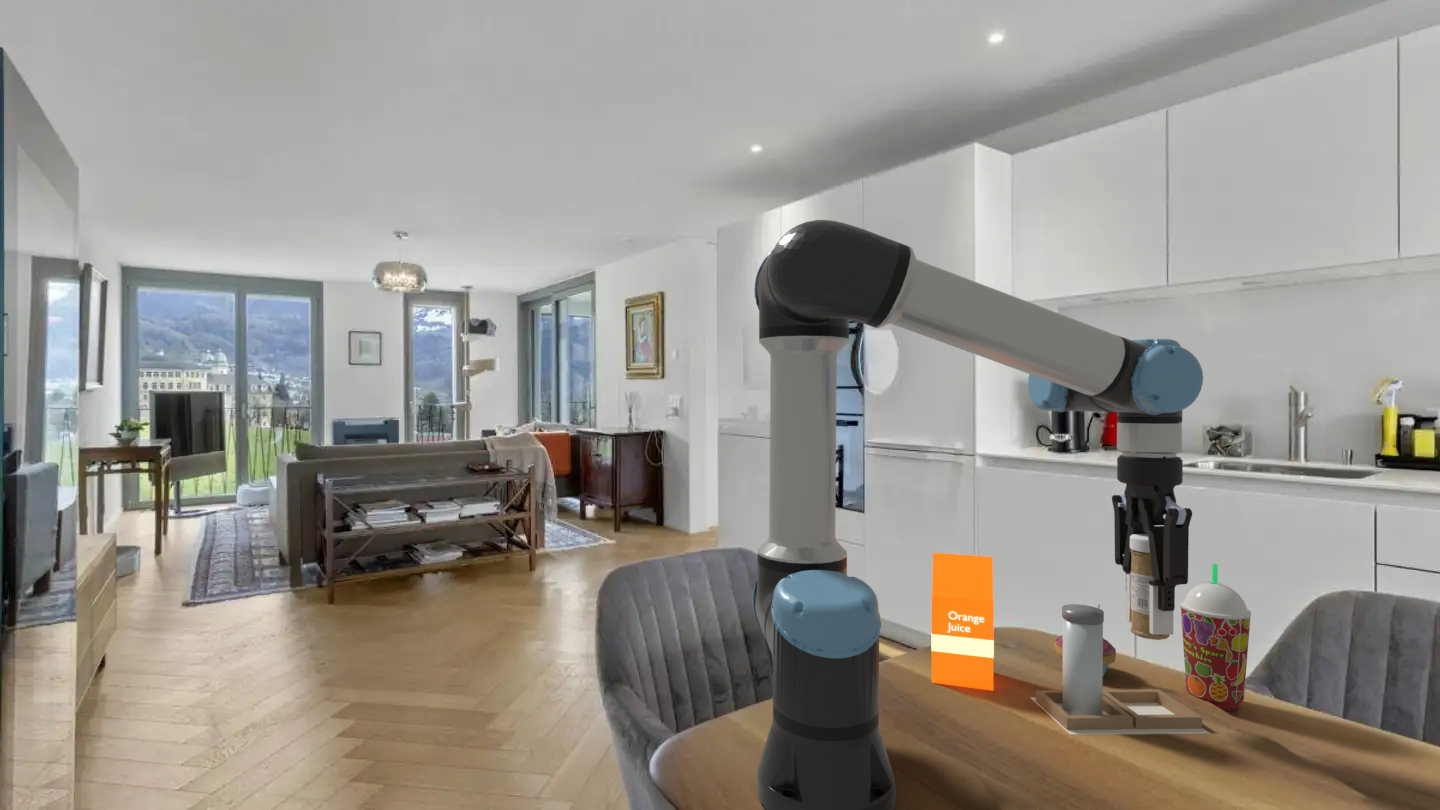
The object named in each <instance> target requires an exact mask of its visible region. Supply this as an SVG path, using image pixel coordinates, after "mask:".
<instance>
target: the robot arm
mask: <svg viewBox="0 0 1440 810" xmlns="http://www.w3.org/2000/svg"><path fill="white" fill-rule="evenodd" d="M913 249H914V248H912V247H911V246H910V245H906V244H904V243H901V242H898V241H896V240H893V239H891V238H888V237H885V236H882V235H880V234H878V233H874V232H872V231H868V230H866V229H864V228H861V227H858V226H855V225H851V224H848V223H845V222H841V221H837V220H830V219H829V220H828V219H816V220H808V221H805V222H803V223H800V224H798V225H796V226H794V227H792V228H790V229H789V230H787V232H785V233H784V234H783V236H781V237H780V238H779V240H778V241H777V243H776V244H775V246H774V248H773V249H772V250H771V251H770V252H769V253H768V254H767V256H765V258H764V259H763V261H762V263H761V264H760V266H759V269H758V270H757V272H756V276H755V281H754V298H755V304H756V306H757V309H758V343H759V344H760V345H761V346H762V347H763V348H764V349H765V350H766V351H767V352H768V354H769V356H770V366H769V367H770V370H769V371H770V372H769V373H770V377H769V378H770V379H769V383H770V384H769V385H770V389H769V390H770V391H769V394H770V395H769V397H770V398H769V400H770V401H769V404H770V405H769V510H768V511H769V518H768V520H769V527H768V528H769V530H768V531H769V532H768V533H769V535H768V538H767V539H766V540H765V541H764V542H763V543H762V544H761V545H760V546H759V547H758V548H757V576H756V580H755V583H754V584H753V589H752V594H751V595H752V597H751V598H752V599H751V601H752V609H753V615H754V617H755V620H756V623H757V624H758V627H759V628H760V630H761V632H762V634H763V636H764V639H765V641H766V643H767V646H768V649H769V651H770V653H771V656H772V657H771V658H772V723H771V725H770V729H769V732H768V735H767V738H766V741H765V745H764V746H763V750H762V753H761V756H760V760H759V762H758V766H757V775H756V780H757V781H756V782H757V783H756V784H757V788H756V791H757V796H758V797H757V798H758V800H759V801H760V804H761V805H762V806H763V808H764V809H765V810H894V809H895V807H896V780H895V775H894V772H893V768H892V765H891V763H890V759H889V756H888V753H887V750H886V747H885V743H884V740H883V737H882V733H881V730H880V723H879V721H880V718H879V717H880V712H879V711H880V633H881V628H882V622H881V615H880V612H879V601H878V600H879V599H878V597H877V595H876V592H875V591H874V590H873V589H872V588H871V586H870V585H869V584H867V583H866V582H865V581H864V580H862V579H860V578H858V577H856V576H848V551H847V550H846V549H845V548H844V546H842V545H841V544H840V543H839V542H838V540H837V538H836V501H837V500H836V497H837V496H836V491H837V489H836V487H837V480H836V479H837V477H836V475H837V474H836V473H837V471H836V470H837V374H838V372H837V367H838V365H837V364H838V361H837V359H838V358H837V356H838V355H839V352H840V351H841V350H843V349H844V348H845V346H846V345H847V344H848V343H849V341H850V338H849V337H850V328H849V327H850V321H853V322H857V323H861V324H864V325H867V326H869V327H873V328H874V329H875V328H876V329H880V328H882V327H884V326H887V325H889V324H891V325H893V326H896V327H899V328H902V329H905V330H907V331H911V332H913V333H916V334H919V335H921V336H923V337H927V338H929V339H933V340H935V341H938V342H940V343H943V344H946V345H949V346H951V347H954V348H957V349H960V350H963V351H966V352H968V353H971V354H973V355H976V356H980V357H982V358H984V359H988V360H990V361H993V362H995V363H998V364H1001V365H1004V366H1006V367H1010V368H1012V369H1014V370H1017V371H1021V372H1022V373H1025V374H1028V378H1027V379H1028V380H1027V381H1028V385H1027V386H1028V393H1029V397H1030V400H1031V402H1032V403H1033V404H1034V406H1035V407H1036V408H1037V409H1039V410H1042V411H1044V412H1045V411H1047V412H1058V413H1064V412H1092V413H1093V412H1095V413H1096V412H1097V413H1098V412H1102V413H1103V412H1104V413H1116V416H1117V419H1116V450H1117V451H1118V452H1121V454H1120V455H1119V456H1118V457H1117V459H1116V463H1117V465H1116V467H1117V470H1116V471H1117V472H1116V478H1117V481H1118V482H1120V483H1122V484H1126V486H1125V489H1124V493H1123V494H1114V495H1112V496H1111V501H1112V505H1113V511H1114V516H1113V517H1114V519H1113V520H1114V524H1113V525H1114V562H1115V564H1116V565H1117V566H1118V565H1120V566H1121V567H1122V571H1123V572H1124V573H1125V593H1126V594H1125V598H1126V599H1125V603H1126V605H1125V610H1126V611H1125V613H1126V615H1125V616H1126V617H1125V620H1126V621H1127V622H1128V623H1132V610H1131V549H1130V536H1131V535H1133V534H1148V540H1149V547H1150V554H1151V562H1152V569H1153V576H1154V581H1149V633H1151V634H1153V635H1163V634H1170V635H1174V611H1175V606H1176V605H1175V600H1176V599H1175V598H1176V596H1175V595H1176V593H1175V592H1176V586H1179V585H1187V584H1188V583H1189V540H1190V539H1189V536H1190V534H1189V532H1190V531H1189V530H1190V528H1189V527H1190V523H1191V521H1192V517H1193V511H1192V509H1191V508H1189V507H1184V508H1183V507H1181V506H1180V505H1178V504H1177V498H1176V496H1175V491H1174V489H1175V487H1176V486H1180V485H1181V484H1182V483H1183V478H1184V475H1183V471H1184V470H1183V459H1182V458H1181V457H1180V456H1177V454H1181V453H1182V451H1183V411H1184V410H1185V409H1187V408H1189V407H1190V406H1192V404H1193V403H1194V402H1195V401H1196V400H1197V398H1198V397H1199V395H1200V392H1201V391H1202V386H1203V383H1204V374H1203V373H1204V372H1203V369H1202V365H1201V364H1200V362H1199V360H1198V358H1197V357H1196V356H1195V355H1194V354H1193V353H1192V352H1191V351H1190V350H1188V349H1187V348H1185V347H1181V344H1180V343H1179V342H1178V341H1177V340H1175V339H1169V338H1151V339H1149V338H1148V339H1147V338H1145V339H1129V338H1127V337H1124V336H1120V335H1118V334H1117V335H1116V334H1114V333H1112V332H1108V331H1106V330H1103V329H1100V328H1098V327H1095V326H1092V325H1090V324H1088V323H1084V322H1082V321H1080V320H1077V319H1074V318H1071V317H1069V316H1066V315H1064V314H1061V313H1059V312H1056V311H1053V310H1050V309H1048V308H1046V307H1043V306H1040V305H1037V304H1034V303H1032V302H1030V301H1027V300H1024V299H1021V298H1019V297H1017V296H1014V295H1010V294H1008V293H1006V292H1004V291H1000V290H998V289H995V288H993V287H989V286H988V285H984V284H983V283H979V282H976V281H974V280H971V279H968V278H966V277H964V276H961V275H958V274H956V273H953V272H950V271H947V270H945V269H943V268H940V267H937V266H935V265H932V264H929V263H926V262H924V261H921V260H918V259H917V257H916V255H915V252H914V250H913Z"/></svg>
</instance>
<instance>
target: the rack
mask: <svg viewBox="0 0 1440 810" xmlns="http://www.w3.org/2000/svg"><path fill="white" fill-rule="evenodd" d="M1030 699H1031V700H1032V701H1033V702H1034V703H1035V704H1036V705H1037V706H1038V707H1040V708H1041V709H1042V710H1043V711H1044V712H1045V713H1046V714H1047V715H1048V716H1049V717H1050V718H1052V720H1054V722H1056V723H1057V724H1058V725H1059V726H1060V727H1061V728H1062V729H1063V730H1064V731H1066V732H1067V734H1068V735H1070V736H1083V735H1085V736H1090V735H1092V736H1093V735H1097V736H1098V735H1103V736H1105V735H1109V736H1110V735H1168V734H1169V735H1183V734H1184V735H1187V734H1188V735H1190V734H1191V735H1192V734H1193V735H1194V734H1196V735H1197V734H1198V735H1199V734H1202V735H1203V734H1204V735H1205V734H1211V732H1210V731H1207V730H1206V729H1205V728H1203V717H1202V716H1201V715H1199V714H1198V713H1196V712H1194V711H1193V710H1192V709H1190V708H1189V707H1187V706H1185V705H1184V704H1182V703H1181V702H1179V700H1176V699H1174V698H1173V697H1171V696H1170V695H1168V694H1167V693H1165V692H1164V691H1162V690H1161V689H1159V688H1158V689H1157V688H1156V689H1103V700H1102V715H1071V716H1070V715H1069V714H1068V713H1067V712H1065V711H1064V710H1063V709H1062V689H1059V690H1058V689H1057V690H1049V689H1047V690H1043V689H1041V690H1040V689H1039V690H1037V689H1036V690H1035V697H1031V696H1030Z"/></svg>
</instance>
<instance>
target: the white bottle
mask: <svg viewBox="0 0 1440 810" xmlns="http://www.w3.org/2000/svg"><path fill="white" fill-rule="evenodd" d="M1061 617H1062V635H1063V659H1062V684H1061V685H1062V689H1061V690H1062V709H1063V710H1064V711H1065V712H1067V713H1068V714H1069V715H1070V716H1071V715H1102V700H1103V690H1104V689H1103V688H1104V687H1103V686H1104V685H1103V683H1104V682H1103V681H1104V679H1103V678H1104V676H1103V638H1104V621H1105V620H1104V619H1105V612H1104V610H1103V609H1101V608H1100V607H1099V608H1098V607H1095V606H1091V605H1087V604H1077V603H1075V604H1074V603H1072V604H1071V603H1069V604H1065V605H1062V607H1061Z"/></svg>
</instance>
